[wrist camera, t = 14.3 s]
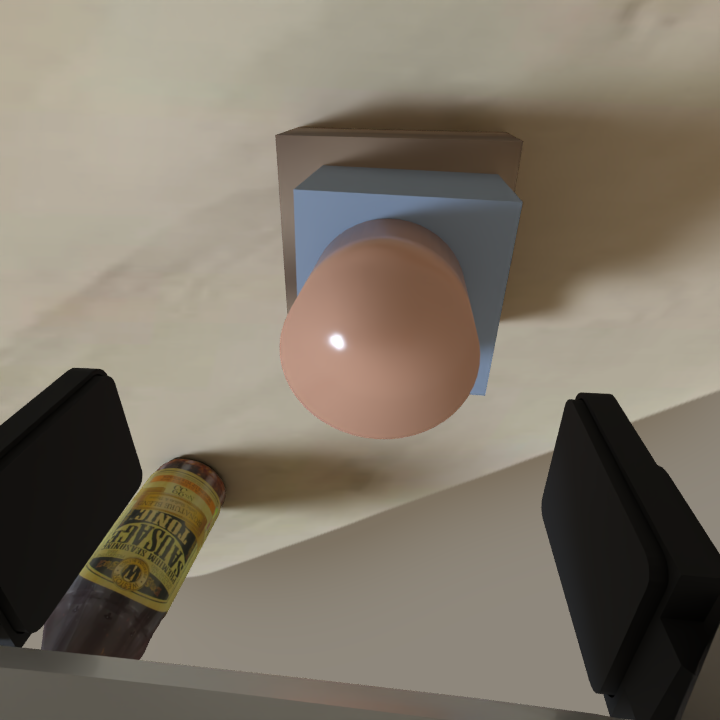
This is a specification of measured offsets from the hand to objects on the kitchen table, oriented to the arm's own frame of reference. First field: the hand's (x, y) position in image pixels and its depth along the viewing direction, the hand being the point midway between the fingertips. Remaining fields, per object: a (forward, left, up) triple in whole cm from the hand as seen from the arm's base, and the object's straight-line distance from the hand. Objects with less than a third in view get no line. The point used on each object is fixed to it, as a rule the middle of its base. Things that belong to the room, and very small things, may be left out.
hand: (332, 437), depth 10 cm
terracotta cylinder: (+1, +1, -10) cm, 10 cm away
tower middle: (+1, +1, -16) cm, 16 cm away
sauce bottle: (+22, -16, -20) cm, 34 cm away
